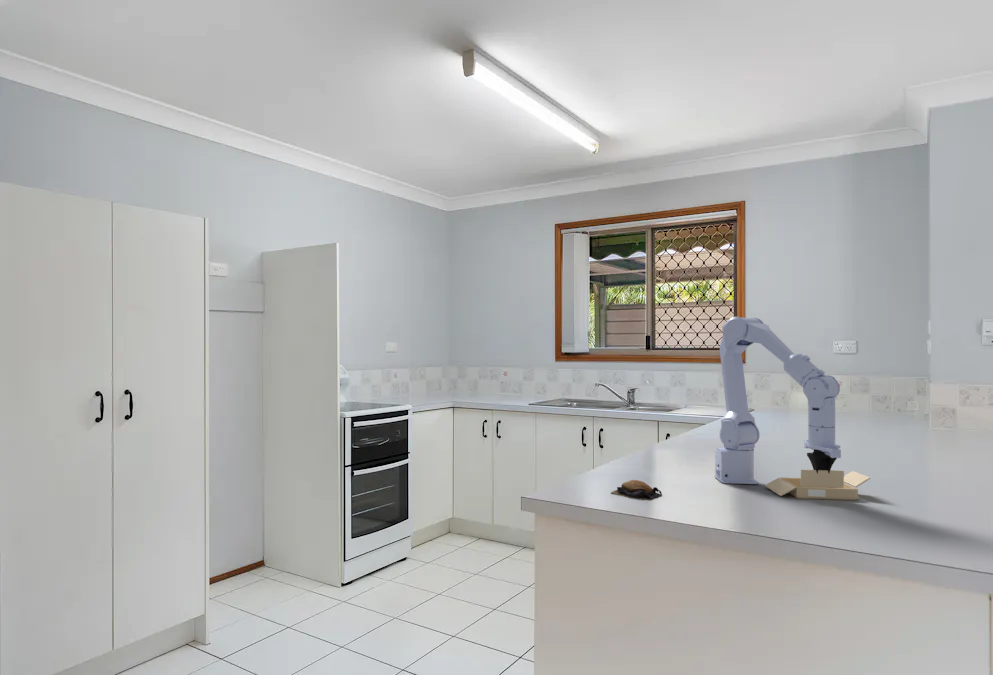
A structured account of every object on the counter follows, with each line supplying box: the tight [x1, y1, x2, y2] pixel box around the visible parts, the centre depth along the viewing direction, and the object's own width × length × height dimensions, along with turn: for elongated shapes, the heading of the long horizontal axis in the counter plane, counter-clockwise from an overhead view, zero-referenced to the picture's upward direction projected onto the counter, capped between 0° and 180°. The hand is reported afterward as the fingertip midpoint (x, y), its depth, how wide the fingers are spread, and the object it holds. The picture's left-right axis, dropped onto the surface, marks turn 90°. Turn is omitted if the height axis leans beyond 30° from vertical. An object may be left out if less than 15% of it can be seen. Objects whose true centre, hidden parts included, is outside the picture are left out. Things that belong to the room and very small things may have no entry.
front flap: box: [800, 469, 845, 488], centre depth 146 cm, size 10×4×1 cm
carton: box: [764, 477, 859, 501], centre depth 153 cm, size 18×15×3 cm
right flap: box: [844, 470, 871, 488], centre depth 151 cm, size 4×8×1 cm
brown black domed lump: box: [610, 479, 663, 501], centre depth 148 cm, size 11×9×4 cm
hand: (821, 483), depth 146 cm, fingers closed, pressing on front flap
